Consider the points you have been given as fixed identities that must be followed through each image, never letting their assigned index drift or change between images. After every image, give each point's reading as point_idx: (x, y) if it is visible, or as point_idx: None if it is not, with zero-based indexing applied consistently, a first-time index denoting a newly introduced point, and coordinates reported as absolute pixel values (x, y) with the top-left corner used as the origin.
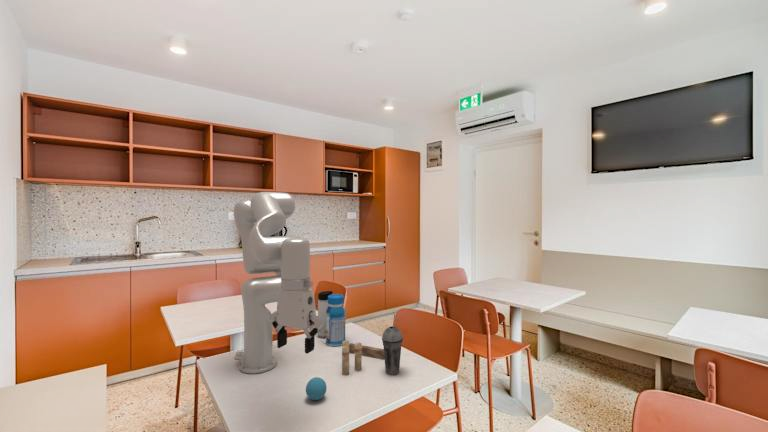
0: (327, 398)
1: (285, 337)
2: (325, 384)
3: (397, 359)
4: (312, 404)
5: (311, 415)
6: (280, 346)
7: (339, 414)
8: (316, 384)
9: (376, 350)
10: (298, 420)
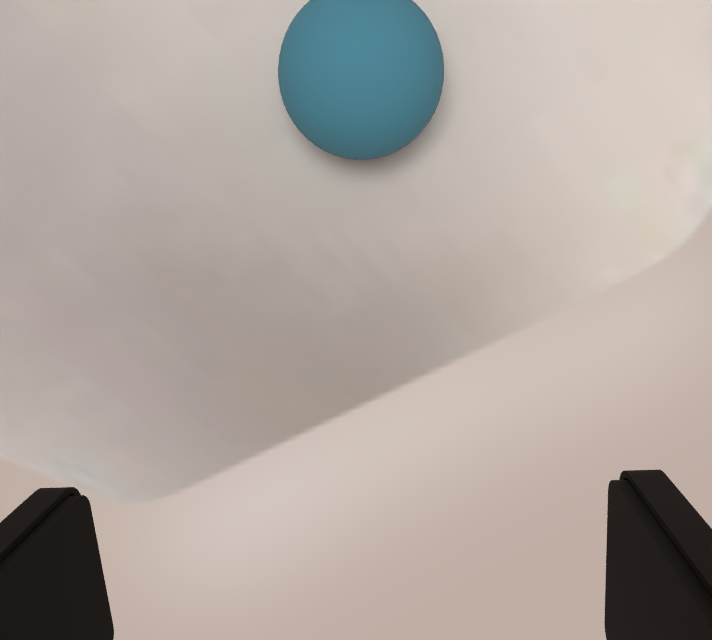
0: None
1: (23, 608)
2: (430, 29)
3: None
4: None
5: (459, 254)
6: (106, 636)
7: (619, 161)
8: (395, 112)
9: None
10: (420, 328)
